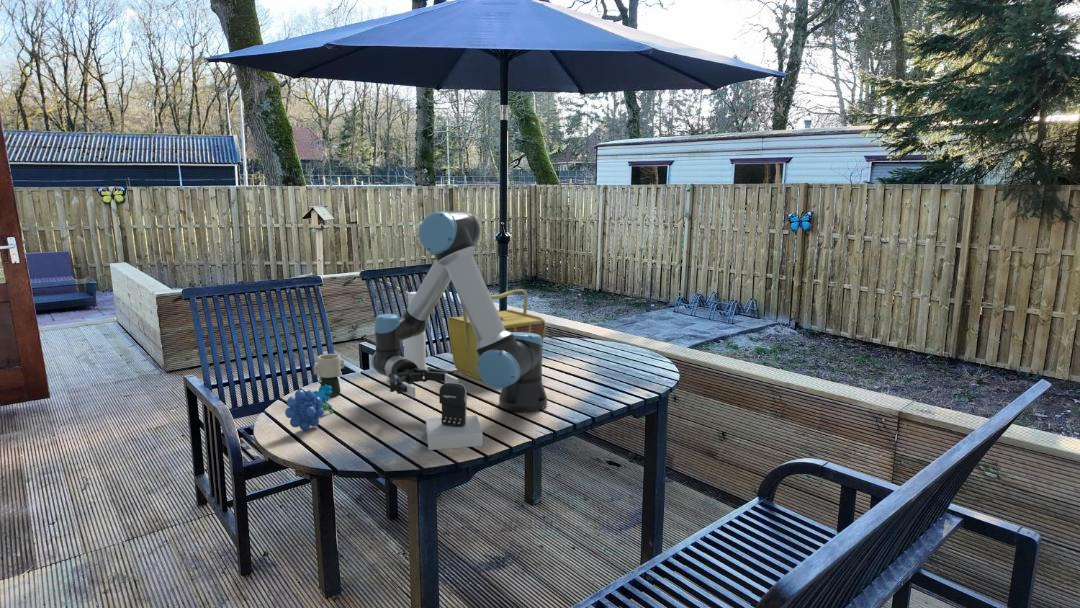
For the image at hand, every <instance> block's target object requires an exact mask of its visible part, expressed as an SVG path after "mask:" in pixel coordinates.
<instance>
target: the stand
mask: <svg viewBox="0 0 1080 608" xmlns="http://www.w3.org/2000/svg"><path fill="white" fill-rule="evenodd" d="M441 420H442V417H438V418H437V417H436V418H426V419H425V430H426V431H425V432H426V433H425V434H426V441H427V448H428V451H431V450H433V451H434V450H444V449H457V448H458V449H459V448H468V447H469V448H472V447H482V446H483V430H482V427H481V423H480V421H479V418H478V416H477V415H469V416H468V415H466V424H465V425H463V426H461V427H456V426H448V425H443V424H442V421H441Z"/></svg>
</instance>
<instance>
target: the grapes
mask: <svg viewBox="0 0 1080 608" xmlns="http://www.w3.org/2000/svg"><path fill="white" fill-rule="evenodd" d="M286 401H287V402H286V404H287V406H288V407H287V408H286V409H285V410H284V415H285V417H287V418H288V419H290V420H289V424H290V426H291V427H293V428H300V430H301V431H308V430H309V429H310V427H317V426H318V425H319V424H320V419H319V418H322V417H323V416H324V414H325V410H323V407H322V408H321V407H320V406H321V405H322V404H323V402H322V399H321V398H320V397H316V395H315V390H312V389H308V390H306V391H305V390H303V389H298V390H296V392H295V393H294V396H290V397H288V398H287V400H286Z"/></svg>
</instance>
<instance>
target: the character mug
mask: <svg viewBox="0 0 1080 608" xmlns="http://www.w3.org/2000/svg"><path fill="white" fill-rule="evenodd" d="M316 359H317V363H316V364H314V365H313V374H314V375H318V376H319V377H320V378H321V379H320V380H321V381H320V382H321V383H320V387H321V386H323V387H324V385H325V384H327V385H328V386H329V385H330V386H331V387H332V389H331V391H332V393H331V394H330V395H329V394H328V395H327V396H328V397H330V396H331V397H332V396H337V395H339V394H340V393H341V386H340V381H339V376H340V375H341V373H342V371H341V369H344V368H345V360H344V358H341V355H340V354H338V353H326V354H320V355H318V356H317V358H316Z"/></svg>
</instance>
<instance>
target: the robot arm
mask: <svg viewBox="0 0 1080 608" xmlns="http://www.w3.org/2000/svg"><path fill="white" fill-rule="evenodd" d="M480 234H481V228H480V223H479V222H478V220H477V218H476V217H475V216H474V215H473V214H472V213H470V212H468V211H466V210H451V211H450V210H449V211H448V210H439V211H435V212H432V213H430V214H428V215H427V216H426V217H425V218H424V219H423V221H422V222H421V225H420V229H419V239H420V243H421V244H422V246H423V248H424V249H425V250H426V251H428V252H430V253H431V254H434V257H435V260H434V262H433V263H432V265H431V267H430V269H429V271H428V272H427V274H426V275H425V277H424V279H423V281H422V282H421V284H420V286H419V287H418V289H417V291H415V292H416V294H415V296H414V297H413V299H412V301H411V303H410V304H409V303H408V306H407V307H406V308H407V309H406V310H405V311H404V313H403V314H402V315H401V316H399V315H398V314H395V313H383V314H379V315H377V316H376V317H375V319H374V338H375V339H374V340H375V342H374V343H375V352H374V353H373V355H372V357H371V360H370V362H371V366H372V368H373V369H374V370H375V371H376V372H377V373H378V374H380V375H382V376H385V377H387V379H388V383H389V392H391V393H393V392H394V393H395V391H396V394H397V395H401V394H402V393H403V394H406V395H408V396H409V397H412V398H415V397H416V387H415V386H414V385H412V384H414V383H418V382H423V383H425V382H426V383H427V382H428V381H431V382H432V381H433V382H443V383H447V382H451V383H459V382H460V381H459V378H457V377H455V372H454V371H453V370H446V369H440V368H433V367H430V366H428V367H427V366H426V370H425V369H419V368H418V367H417V365H416V364H415V363H414V362H412V361H409V360H408V359H405V358H404V356H401V342H402V341H404V340H405V339H407V338H410V337H413V336H417V335H419V334H421V333H423V332H424V331H425V332H426V330H427V328H428V319H429V317H430V315H431V314H432V312H433V311H434V309H435V308H436V306H437V305H438V304H437V303H439V301H440V299H441V297H442V296H443V294H444V292H445V290H446V289H447V287H448V286H449V284H450V282H452V284H453V287H454V290H455V291H456V294H457V297H458V299H459V300H460V303H461V306H462V309H463V308H464V310H465V312H466V314H467V317H468V319H469V321H470V324H471V326H472V328H473V330H474V333H475V335H476V337H477V340H478V345H477V347H476V350H477V353H478V355H479V357H480V358H479V360H478V364H477V369H478V373H479V375H480V377H481V378H482V379H481V380H482V382H484V383H485V384H487V385H488V386H491V387H492V388H496V389H501V392H500V394H499V396H498V397H499V398H498V406H499V407H500V409H501V408H502V409H503V410H506V411H509V412H512V413H513V412H514V413H531V412H532V411H533V412H537V410H538V411H540V410H539V409H541V410H543V409H544V408H543V407H545V406H546V405H548V397H547V393H546V389H545V387H544V384H543V377H542V376H543V374H542V373H543V346H544V344H542V338H541V336H540V335H538V334H534V333H524V332H509V331H507V330H505V328H504V326H503V323H502V321H501V319H500V317H499V314H498V310H497V307H496V305H495V303H494V301H493V299H492V298H491V296H490V295H491V294H490V291H489V289H488V286H487V285H486V282H485V280H484V278H483V275H482V274H481V271H480V269H479V266H478V265H477V263H476V259H475V257H474V252H475V249H476V246H477V243H478V242H479V239H480V236H481V235H480ZM546 407H547V406H546ZM546 407H545V408H546ZM542 408H543V409H542Z"/></svg>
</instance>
